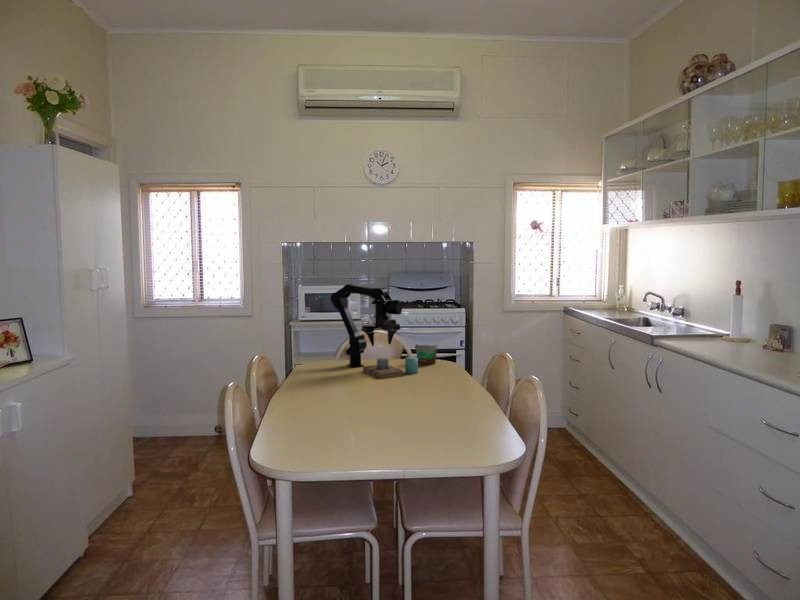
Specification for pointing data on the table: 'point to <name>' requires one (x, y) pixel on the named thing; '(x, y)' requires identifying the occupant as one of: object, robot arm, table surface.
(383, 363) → the square bit
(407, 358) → the round bit
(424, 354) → the food container
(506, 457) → the table surface
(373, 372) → the bore block
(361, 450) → the table surface
